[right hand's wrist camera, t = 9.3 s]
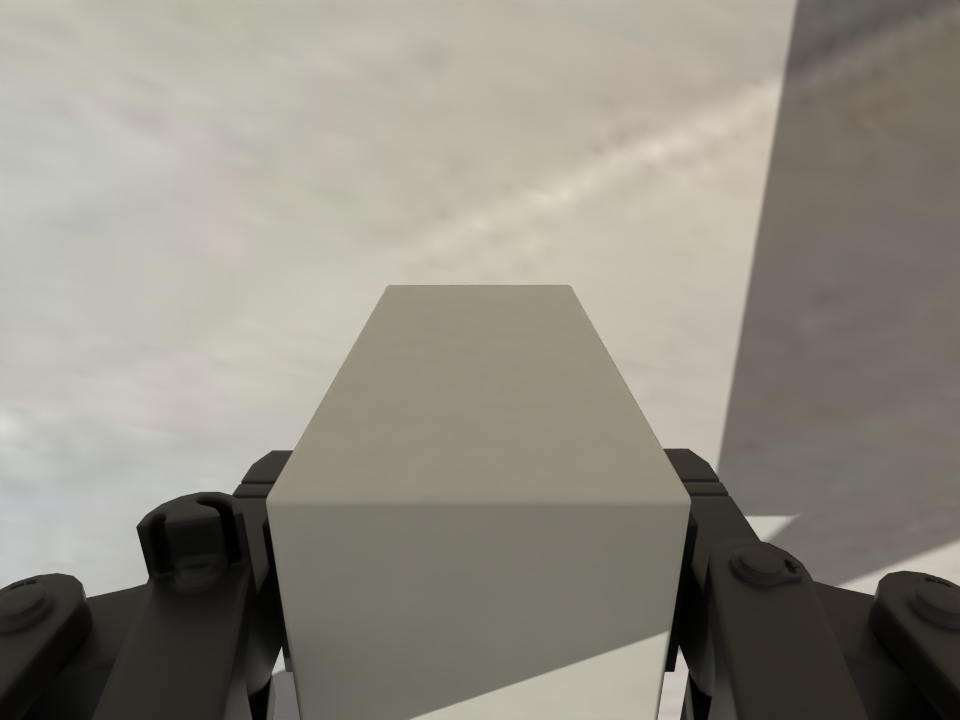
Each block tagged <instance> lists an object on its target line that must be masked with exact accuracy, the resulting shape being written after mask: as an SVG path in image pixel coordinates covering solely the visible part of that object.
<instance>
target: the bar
mask: <svg viewBox="0 0 960 720" xmlns="http://www.w3.org/2000/svg"><path fill="white" fill-rule="evenodd" d="M690 505H691V499H690V496H689V494H688V492H687V491H686V489H685V487H684V485H683V484H682V482H681V480H680V478H679V477H678V475H677V473H676V471H675V469H674V468H673V466H672V464H671V462H670V461H669V459H668V457H667V455H666V454H665V452H664V450H663V448H662V447H661V445H660V443H659V441H658V439H657V438H656V436H655V434H654V432H653V431H652V429H651V427H650V425H649V424H648V422H647V420H646V418H645V417H644V415H643V413H642V411H641V409H640V408H639V406H638V404H637V402H636V401H635V399H634V397H633V395H632V394H631V392H630V390H629V388H628V387H627V385H626V383H625V381H624V379H623V378H622V376H621V374H620V372H619V371H618V369H617V367H616V365H615V364H614V362H613V360H612V358H611V357H610V355H609V353H608V351H607V349H606V348H605V346H604V344H603V342H602V341H601V339H600V337H599V335H598V334H597V332H596V330H595V328H594V326H593V325H592V323H591V321H590V319H589V318H588V316H587V314H586V312H585V311H584V309H583V307H582V305H581V304H580V302H579V300H578V298H577V296H576V295H575V293H574V291H573V289H572V288H571V286H569V285H389V286H387V288H386V289H385V291H384V293H383V295H382V296H381V298H380V300H379V302H378V303H377V305H376V307H375V309H374V310H373V312H372V314H371V316H370V317H369V319H368V321H367V323H366V324H365V326H364V328H363V330H362V331H361V333H360V335H359V337H358V338H357V340H356V342H355V344H354V345H353V347H352V349H351V351H350V352H349V354H348V356H347V358H346V360H345V361H344V363H343V365H342V367H341V368H340V370H339V372H338V374H337V375H336V377H335V379H334V381H333V382H332V384H331V386H330V388H329V389H328V391H327V393H326V395H325V396H324V398H323V400H322V402H321V403H320V405H319V407H318V409H317V410H316V412H315V414H314V416H313V417H312V419H311V421H310V423H309V424H308V426H307V428H306V430H305V431H304V433H303V435H302V437H301V439H300V440H299V442H298V444H297V446H296V447H295V449H294V451H293V453H292V454H291V456H290V458H289V460H288V461H287V463H286V465H285V467H284V468H283V470H282V472H281V474H280V475H279V477H278V479H277V481H276V482H275V484H274V486H273V488H272V489H271V491H270V493H269V495H268V497H267V500H266V506H267V512H268V518H269V525H270V531H271V537H272V544H273V550H274V556H275V563H276V569H277V575H278V582H279V588H280V594H281V601H282V607H283V613H284V620H285V626H286V632H287V639H288V645H289V651H290V658H291V664H292V670H293V677H294V683H295V689H296V696H297V702H298V708H299V715H300V720H657V719H658V712H659V706H660V699H661V693H662V686H663V680H664V673H665V667H666V661H667V654H668V648H669V641H670V635H671V628H672V622H673V615H674V609H675V602H676V596H677V589H678V583H679V577H680V570H681V564H682V557H683V551H684V544H685V538H686V531H687V525H688V518H689V512H690Z"/></svg>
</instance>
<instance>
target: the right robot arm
mask: <svg viewBox="0 0 960 720" xmlns="http://www.w3.org/2000/svg"><path fill="white" fill-rule="evenodd" d="M663 450H664V452H665V454H666V455H667V457H668V459H669V461H670V462H671V464H672V466H673V468H674V469H675V471H676V473H677V475H678V477H679V478H680V480H681V482H682V484H683V485H684V487H685V489H686V491H687V492H688V494H689V496H690V499H691V505H690V512H689V518H688V525H687V531H686V538H685V544H684V551H683V557H682V564H681V570H680V577H679V583H678V589H677V596H676V602H675V609H674V615H673V622H672V628H671V635H670V641H669V648H668V654H667V661H666V667H665V672H674V671H675V664H676V658H677V652H678V646H680V648H681V651H682V653H683V656H684V659H685V661H686V664H687V667H688V669H689V672H688V678H687V684H686V689H685V695H684V701H683V706H682V712H681V718H680V720H960V586H958V585H956V584H954V583H952V582H950V581H948V580H945V579H942V578H940V577H935V576H933V575H929V574H926V573H919V572H911V571H899V572H894V573H888V574H887V575H886V576H885V577H883V578H882V579H881V580H880V581H879V583H878V587H877V590H876V593H875V596H874V595H869V594H865V593H860V592H856V591H851V590H846V589H842V588H837V587H833V586H829V585H825V584H822V583H818V582H815V581H813V580H812V578H811V576H810V574H809V573H808V571H807V570H806V569H805V567H804V566H803V564H802V563H801V562H800V561H798V560H797V559H796V558H794V557H793V556H792V555H791V554H789V553H788V552H787V551H784V550H782V549H780V548H778V547H776V546H774V545H772V544H770V543H766V542H762V541H760V539H759V538H758V536H757V535H756V533H755V532H754V530H753V529H752V527H751V526H750V524H749V523H748V521H747V520H746V518H745V517H744V515H743V514H742V513H741V511H740V510H739V508H738V507H737V505H736V504H735V502H734V501H733V499H732V498H731V496H728V492H727V490H726V489H725V487H724V486H723V484H722V483H720V482H719V478H718V477H717V475H716V474H715V472H714V471H713V469H712V468H711V466H710V465H709V463H708V462H706V461H705V460H703V459H702V458H701V457H699V456H698V455H696V454H695V453H694V452H692V451H691V450H689V449H663ZM292 453H293V451H271V452H270V453H268V454H267V455H265V456H264V457H263V458H261V459H260V460H258V461H257V462H256V463H254V464H253V465H252V466H251V468H250V469H249V471H248V472H247V474H246V475H245V477H244V478H243V480H242V483H241V484H239V486H238V487H237V489H236V490H235V492H234V493H233V495H229V494H225V493H221V492H199V493H194V494H190V495H185V496H181V497H178V498H176V499H173V500H171V501H169V502H166V503H164V504H161V505H160V506H158V507H157V508H156V509H154V510H153V511H151V512H150V513H148V514H147V515H146V516H145V517H144V518H143V519H142V521H141V522H140V523H139V524H138V526H137V527H136V528H137V531H138V535H139V539H140V543H141V547H142V551H143V555H144V558H145V562H146V566H147V570H148V574H149V579H148V581H147V584H144V585H140V586H137V587H133V588H130V589H125V590H121V591H116V592H112V593H107V594H103V595H98V596H94V597H89V598H86V595H85V591H84V588H83V585H82V583H81V582H80V581H78V580H77V579H76V578H75V577H74V576H71V575H65V574H59V573H55V574H46V575H37V576H34V577H31V578H27V579H24V580H20V581H18V582H15V583H12V584H10V585H8V586H6V587H4V588H3V589H1V590H0V720H273V715H274V705H275V691H274V684H273V678H272V671H273V668H274V665H275V663H276V660H277V657H278V655H279V652H280V649H281V647H282V650H283V656H284V662H285V668H286V672H293V670H292V664H291V658H290V651H289V645H288V639H287V632H286V626H285V620H284V613H283V607H282V601H281V594H280V588H279V582H278V575H277V569H276V563H275V556H274V550H273V544H272V537H271V531H270V525H269V518H268V512H267V506H266V500H267V497H268V495H269V493H270V491H271V489H272V488H273V486H274V484H275V482H276V481H277V479H278V477H279V475H280V474H281V472H282V470H283V468H284V467H285V465H286V463H287V461H288V460H289V458H290V456H291V454H292Z"/></svg>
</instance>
